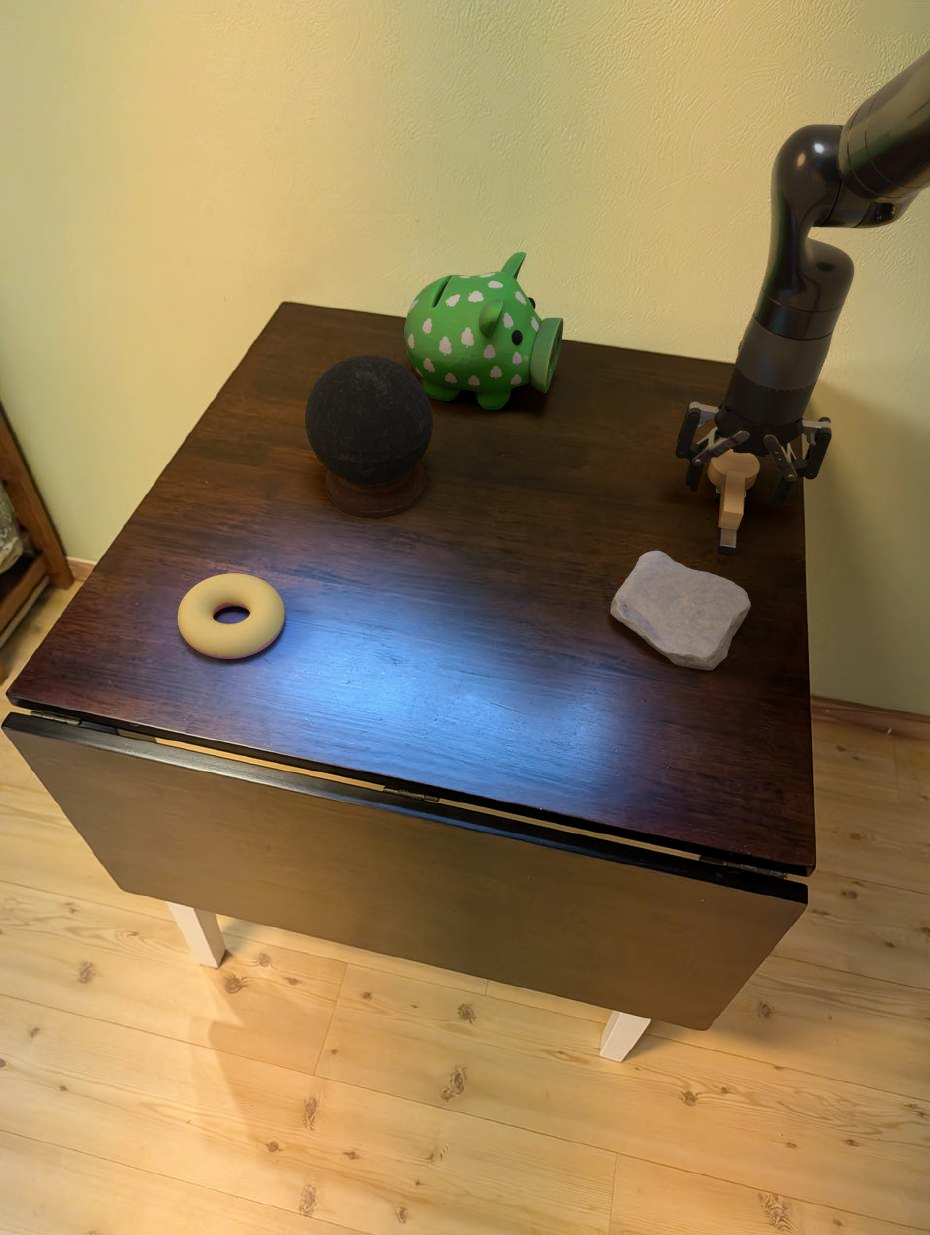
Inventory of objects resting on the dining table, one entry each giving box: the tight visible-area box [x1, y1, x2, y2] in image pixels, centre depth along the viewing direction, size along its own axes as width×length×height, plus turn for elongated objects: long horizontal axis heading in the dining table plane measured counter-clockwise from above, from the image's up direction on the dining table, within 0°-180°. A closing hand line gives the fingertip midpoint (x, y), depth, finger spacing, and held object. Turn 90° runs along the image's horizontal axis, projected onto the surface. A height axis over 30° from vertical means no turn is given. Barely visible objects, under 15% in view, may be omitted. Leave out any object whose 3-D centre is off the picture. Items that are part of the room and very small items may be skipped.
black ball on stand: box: [304, 354, 434, 519], centre depth 88 cm, size 13×13×15 cm
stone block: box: [609, 550, 752, 671], centre depth 81 cm, size 12×5×10 cm
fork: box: [713, 485, 747, 556], centre depth 92 cm, size 14×3×1 cm, turn 167°
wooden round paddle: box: [707, 449, 761, 531], centre depth 91 cm, size 11×5×2 cm, turn 167°
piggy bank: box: [403, 251, 564, 411], centre depth 99 cm, size 14×18×15 cm
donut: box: [177, 572, 286, 660], centre depth 80 cm, size 10×5×9 cm
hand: (733, 493), depth 90 cm, fingers open, 8 cm apart
